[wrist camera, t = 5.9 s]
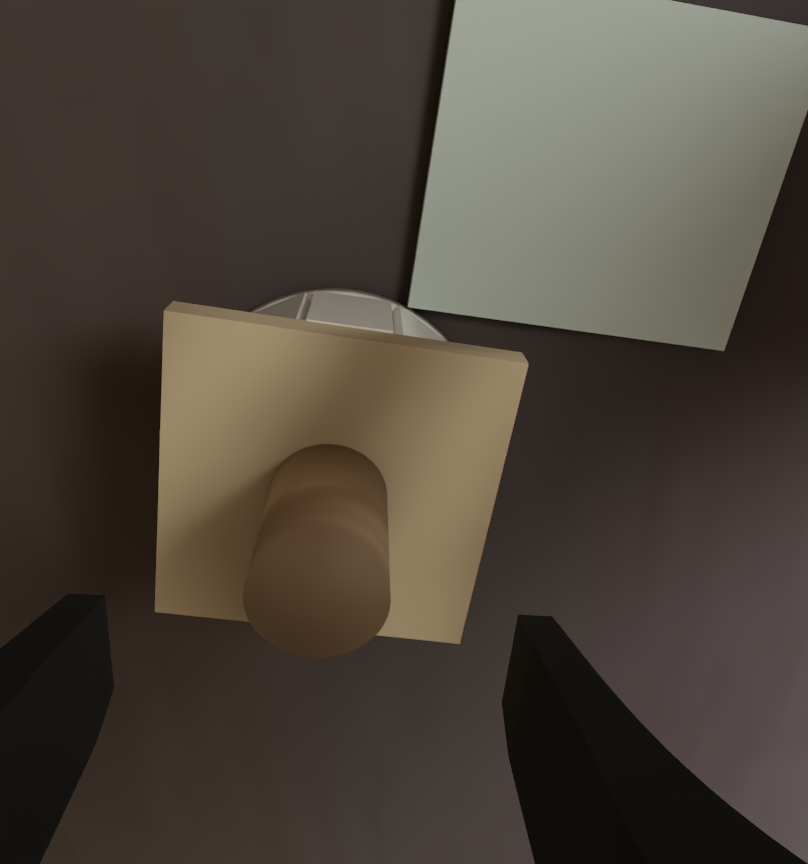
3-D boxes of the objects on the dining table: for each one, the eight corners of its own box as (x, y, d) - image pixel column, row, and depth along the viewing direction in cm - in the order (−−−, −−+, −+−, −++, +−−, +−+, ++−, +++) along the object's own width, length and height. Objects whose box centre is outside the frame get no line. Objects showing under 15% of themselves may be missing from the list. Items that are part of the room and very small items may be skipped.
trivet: (825, 32, 18) (835, 30, 17) (717, 346, 21) (724, 350, 21) (460, -36, 17) (462, -39, 16) (407, 303, 20) (408, 307, 20)
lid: (522, 352, 17) (573, 440, 13) (456, 624, 20) (479, 768, 16) (173, 301, 16) (99, 375, 12) (162, 592, 19) (101, 735, 15)
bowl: (504, 309, 20) (529, 349, 17) (451, 561, 24) (463, 633, 20) (196, 266, 19) (161, 299, 16) (187, 533, 23) (156, 604, 20)
